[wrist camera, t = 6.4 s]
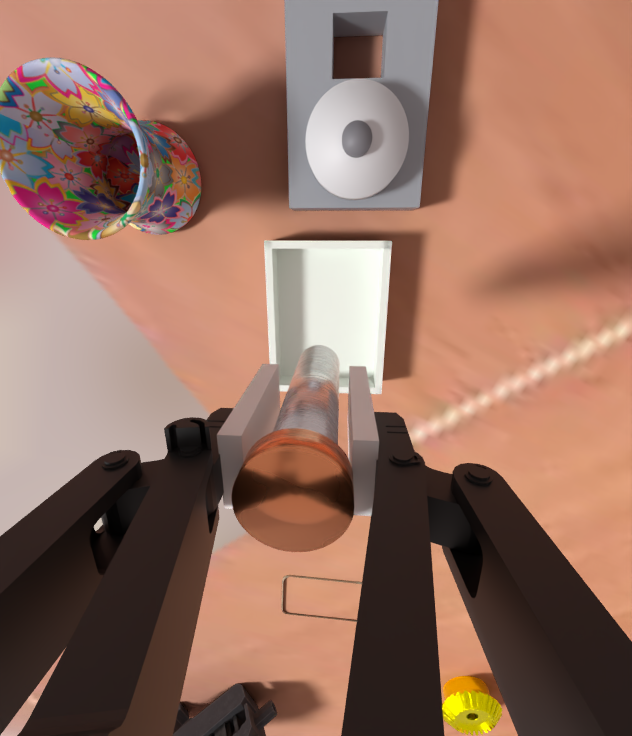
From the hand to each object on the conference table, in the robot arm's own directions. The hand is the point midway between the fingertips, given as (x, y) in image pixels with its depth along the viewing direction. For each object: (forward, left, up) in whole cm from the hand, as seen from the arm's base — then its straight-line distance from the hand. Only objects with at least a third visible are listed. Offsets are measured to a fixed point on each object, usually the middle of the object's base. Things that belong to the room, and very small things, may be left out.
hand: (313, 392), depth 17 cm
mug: (-12, -16, -18) cm, 27 cm away
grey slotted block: (-16, +2, -18) cm, 24 cm away
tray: (0, 0, -18) cm, 18 cm away
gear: (+53, +20, -18) cm, 59 cm away
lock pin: (0, 0, -4) cm, 4 cm away
